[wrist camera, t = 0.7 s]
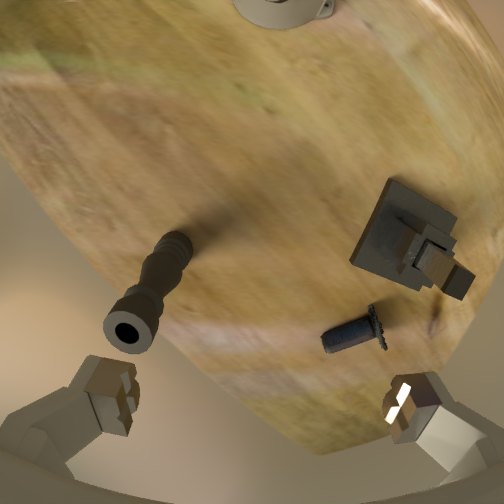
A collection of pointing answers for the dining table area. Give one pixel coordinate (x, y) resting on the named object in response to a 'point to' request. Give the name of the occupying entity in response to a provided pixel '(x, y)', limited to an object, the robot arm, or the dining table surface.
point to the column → (444, 270)
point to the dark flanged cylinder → (354, 333)
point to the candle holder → (148, 295)
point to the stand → (402, 235)
